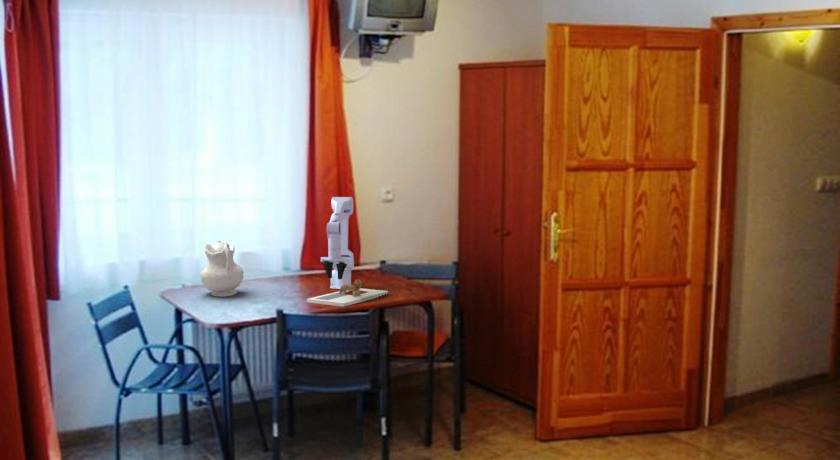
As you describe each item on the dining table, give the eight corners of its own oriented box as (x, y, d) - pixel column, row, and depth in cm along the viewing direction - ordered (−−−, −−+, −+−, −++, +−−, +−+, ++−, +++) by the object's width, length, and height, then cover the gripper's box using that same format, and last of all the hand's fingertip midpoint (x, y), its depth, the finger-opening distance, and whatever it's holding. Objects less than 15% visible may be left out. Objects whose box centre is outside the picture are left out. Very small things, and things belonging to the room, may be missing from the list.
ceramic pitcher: (255, 295, 370) (254, 242, 368) (218, 301, 356) (217, 245, 354) (228, 290, 385) (227, 238, 383) (192, 295, 371) (191, 241, 369)
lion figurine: (359, 294, 375) (359, 278, 374) (363, 295, 371) (363, 280, 370) (336, 296, 369) (335, 280, 369) (339, 297, 365) (339, 281, 365)
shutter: (352, 297, 356) (352, 291, 356) (377, 291, 374) (377, 285, 373) (363, 298, 353) (363, 293, 353) (388, 292, 370) (388, 286, 370)
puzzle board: (306, 302, 353) (306, 298, 353) (354, 290, 384) (354, 287, 384) (343, 306, 343) (343, 303, 343) (389, 294, 374) (389, 291, 374)
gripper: (316, 248, 359) (316, 278, 360) (342, 250, 351) (342, 280, 353) (325, 247, 365) (326, 276, 366) (351, 248, 358) (352, 278, 359)
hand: (334, 278), depth 360 cm, fingers open, 5 cm apart
